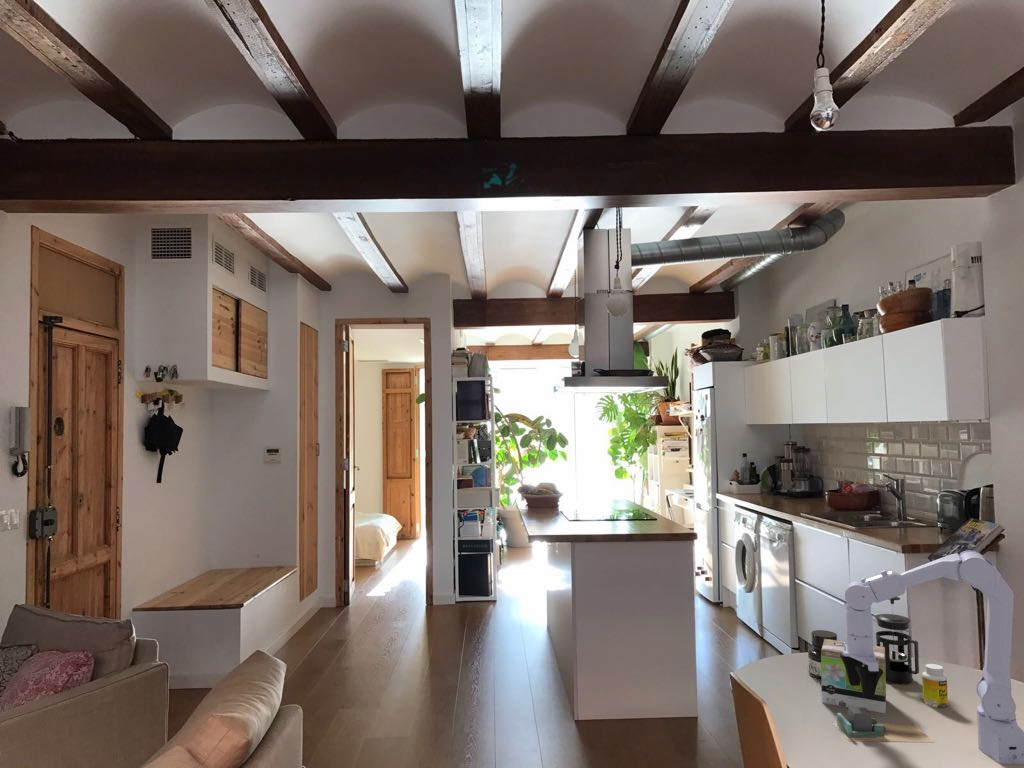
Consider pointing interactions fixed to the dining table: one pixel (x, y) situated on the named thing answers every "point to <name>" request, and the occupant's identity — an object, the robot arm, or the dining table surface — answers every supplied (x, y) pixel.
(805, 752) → the dining table surface
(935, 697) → the supplement bottle
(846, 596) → the robot arm
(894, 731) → the board
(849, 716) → the block
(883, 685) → the tea box
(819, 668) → the black pill bottle
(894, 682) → the french press
